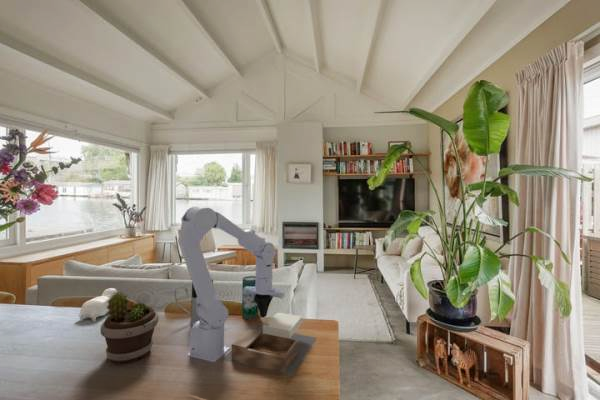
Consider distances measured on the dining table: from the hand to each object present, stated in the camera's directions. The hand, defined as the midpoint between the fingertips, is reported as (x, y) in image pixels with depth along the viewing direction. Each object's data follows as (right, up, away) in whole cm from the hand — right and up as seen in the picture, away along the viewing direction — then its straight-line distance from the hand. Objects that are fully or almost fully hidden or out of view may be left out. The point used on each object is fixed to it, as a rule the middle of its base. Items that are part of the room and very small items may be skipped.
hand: (263, 316), depth 95 cm
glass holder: (-27, -6, +9) cm, 30 cm away
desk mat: (+4, -6, -9) cm, 12 cm away
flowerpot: (-38, -6, -13) cm, 40 cm away
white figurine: (-67, -6, +15) cm, 69 cm away
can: (-7, -7, +15) cm, 18 cm away
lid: (+7, -2, -5) cm, 9 cm away
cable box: (+2, -6, -14) cm, 16 cm away
